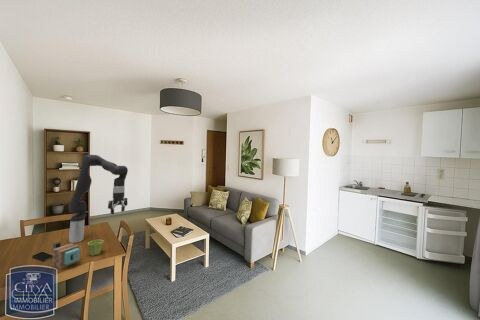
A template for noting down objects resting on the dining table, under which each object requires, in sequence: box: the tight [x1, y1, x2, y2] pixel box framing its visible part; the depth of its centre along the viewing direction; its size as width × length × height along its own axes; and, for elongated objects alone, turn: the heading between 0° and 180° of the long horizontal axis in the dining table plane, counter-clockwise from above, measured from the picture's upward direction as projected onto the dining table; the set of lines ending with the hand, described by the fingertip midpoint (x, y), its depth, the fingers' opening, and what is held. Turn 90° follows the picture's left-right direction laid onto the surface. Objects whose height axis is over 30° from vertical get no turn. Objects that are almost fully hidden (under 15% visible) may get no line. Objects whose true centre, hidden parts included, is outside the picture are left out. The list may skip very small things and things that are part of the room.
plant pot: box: [87, 239, 104, 257], centre depth 143 cm, size 9×9×9 cm
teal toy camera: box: [64, 248, 81, 264], centre depth 126 cm, size 3×7×7 cm, turn 161°
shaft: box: [52, 241, 78, 259], centre depth 129 cm, size 21×3×6 cm, turn 71°
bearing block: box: [51, 242, 80, 270], centre depth 128 cm, size 8×10×11 cm
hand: (117, 212), depth 149 cm, fingers open, 8 cm apart
